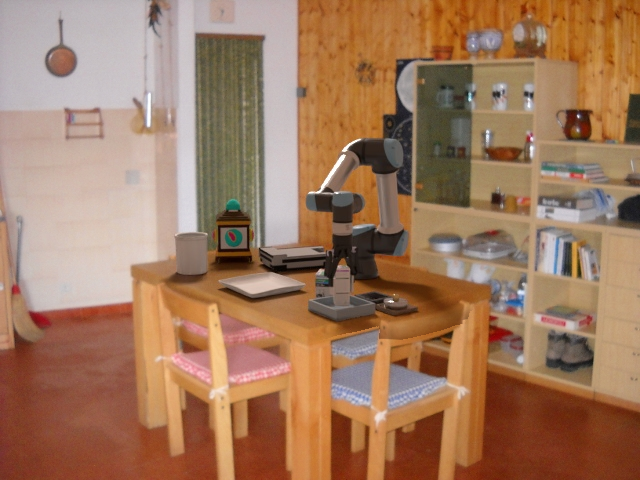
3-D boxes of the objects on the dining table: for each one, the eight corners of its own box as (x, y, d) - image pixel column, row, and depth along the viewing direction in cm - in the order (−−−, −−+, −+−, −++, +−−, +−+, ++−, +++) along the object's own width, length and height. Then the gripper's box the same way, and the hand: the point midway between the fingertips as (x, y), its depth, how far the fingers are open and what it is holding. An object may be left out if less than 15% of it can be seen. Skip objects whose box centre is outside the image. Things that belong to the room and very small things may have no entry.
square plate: (217, 288, 326) (216, 279, 326) (271, 279, 343) (271, 270, 342) (251, 302, 305) (251, 292, 305) (307, 292, 322) (307, 282, 321)
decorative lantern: (253, 255, 392) (252, 196, 387) (255, 263, 373) (254, 201, 367) (213, 255, 389) (212, 196, 384) (213, 264, 370) (212, 202, 365)
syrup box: (349, 306, 288) (351, 268, 285) (334, 306, 287) (335, 268, 285) (348, 302, 294) (349, 265, 291) (332, 302, 293) (333, 265, 290)
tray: (308, 310, 293) (308, 299, 292) (345, 303, 303) (346, 293, 303) (336, 321, 279) (336, 310, 278) (375, 313, 289) (375, 303, 288)
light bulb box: (331, 301, 305) (331, 275, 303) (314, 300, 307) (314, 274, 305) (335, 295, 316) (335, 269, 314) (319, 294, 317) (319, 268, 315)
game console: (337, 268, 366) (337, 251, 364) (273, 273, 353) (273, 256, 352) (320, 259, 384) (320, 243, 383) (258, 264, 372) (258, 247, 371)
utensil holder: (173, 269, 359) (172, 232, 356) (205, 267, 363) (204, 230, 360) (177, 276, 345) (176, 237, 342) (211, 274, 350) (210, 236, 346)
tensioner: (353, 301, 306) (353, 286, 305) (376, 296, 313) (376, 282, 312) (393, 315, 287) (394, 300, 285) (417, 310, 293) (418, 295, 292)
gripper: (325, 237, 277) (325, 299, 281) (370, 232, 288) (369, 291, 293) (313, 234, 283) (313, 295, 287) (358, 229, 294) (357, 287, 299)
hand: (341, 293), depth 290 cm, fingers closed on syrup box, 8 cm apart
